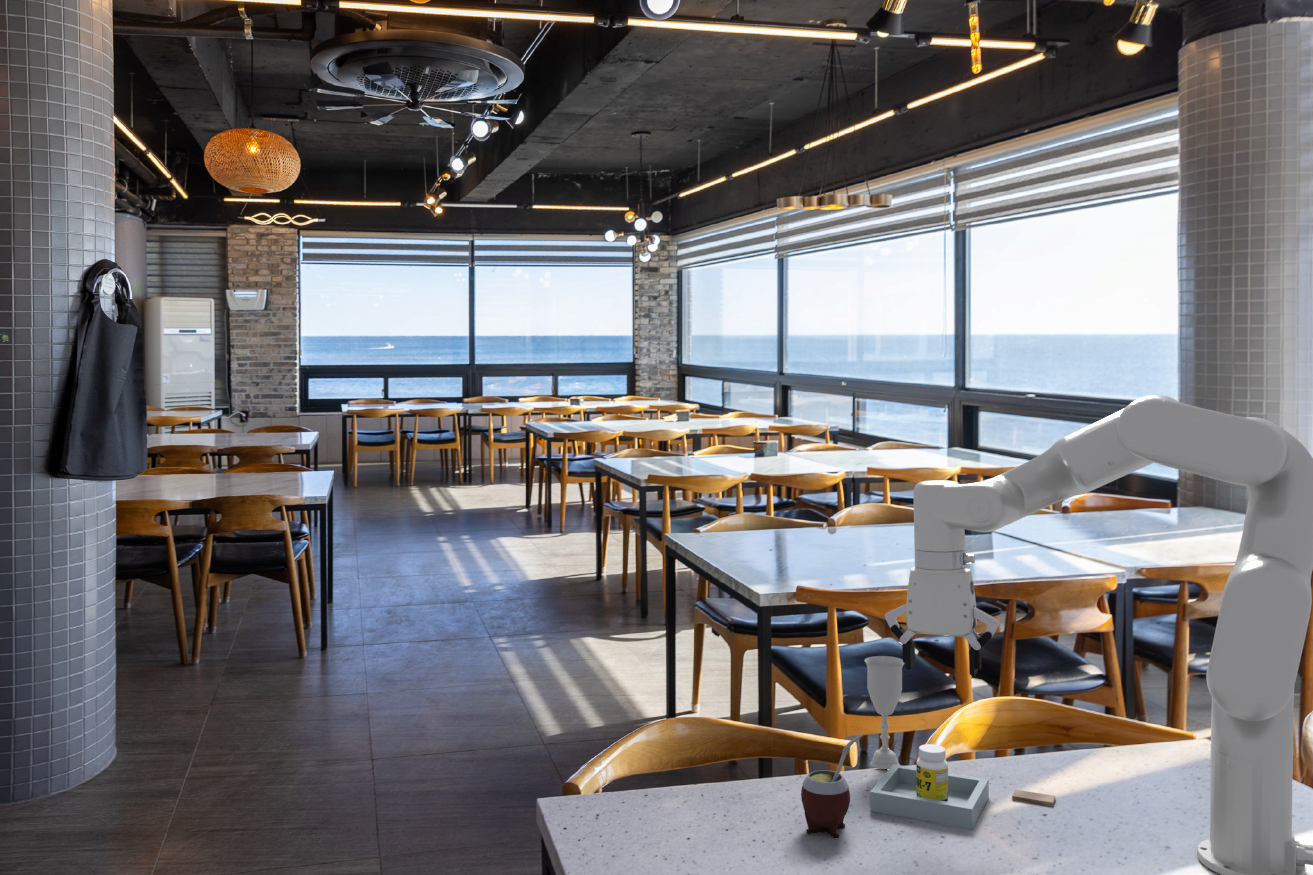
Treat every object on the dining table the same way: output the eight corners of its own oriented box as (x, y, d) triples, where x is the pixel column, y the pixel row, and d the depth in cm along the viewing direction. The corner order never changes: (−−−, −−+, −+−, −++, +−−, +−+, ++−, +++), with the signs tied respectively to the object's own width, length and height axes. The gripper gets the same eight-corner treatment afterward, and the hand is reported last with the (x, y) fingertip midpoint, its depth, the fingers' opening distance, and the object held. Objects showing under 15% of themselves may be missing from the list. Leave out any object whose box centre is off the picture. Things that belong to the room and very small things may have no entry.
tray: (988, 797, 162) (988, 779, 162) (972, 829, 151) (972, 809, 150) (893, 782, 169) (893, 764, 169) (870, 810, 158) (870, 791, 158)
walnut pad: (1055, 799, 161) (1055, 795, 161) (1052, 806, 159) (1052, 802, 159) (1015, 793, 164) (1015, 789, 164) (1012, 799, 161) (1012, 795, 161)
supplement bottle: (910, 798, 161) (909, 745, 161) (934, 793, 163) (933, 741, 163) (930, 809, 157) (930, 755, 156) (954, 804, 159) (954, 750, 158)
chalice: (906, 773, 173) (905, 667, 173) (864, 770, 175) (864, 665, 174) (904, 758, 180) (904, 656, 180) (864, 756, 182) (864, 655, 181)
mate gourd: (793, 824, 153) (792, 725, 153) (839, 816, 156) (838, 718, 155) (818, 844, 146) (817, 740, 146) (866, 835, 149) (865, 733, 148)
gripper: (1001, 559, 158) (1003, 670, 159) (890, 554, 166) (892, 660, 167) (993, 567, 152) (995, 682, 152) (877, 561, 160) (880, 671, 160)
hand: (941, 670), depth 159 cm, fingers open, 9 cm apart
